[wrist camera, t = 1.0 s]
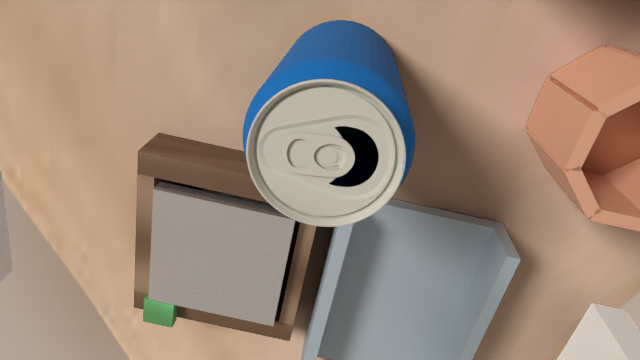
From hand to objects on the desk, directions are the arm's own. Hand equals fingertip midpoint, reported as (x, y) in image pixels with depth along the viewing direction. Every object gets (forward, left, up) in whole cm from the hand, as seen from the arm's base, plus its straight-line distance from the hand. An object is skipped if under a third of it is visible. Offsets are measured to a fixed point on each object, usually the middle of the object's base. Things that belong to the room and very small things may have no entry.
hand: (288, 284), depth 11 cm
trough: (+14, +7, -19) cm, 24 cm away
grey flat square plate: (+12, -5, -16) cm, 20 cm away
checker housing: (+12, -5, -19) cm, 23 cm away
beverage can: (0, 0, -19) cm, 19 cm away
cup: (-1, +15, -19) cm, 24 cm away
